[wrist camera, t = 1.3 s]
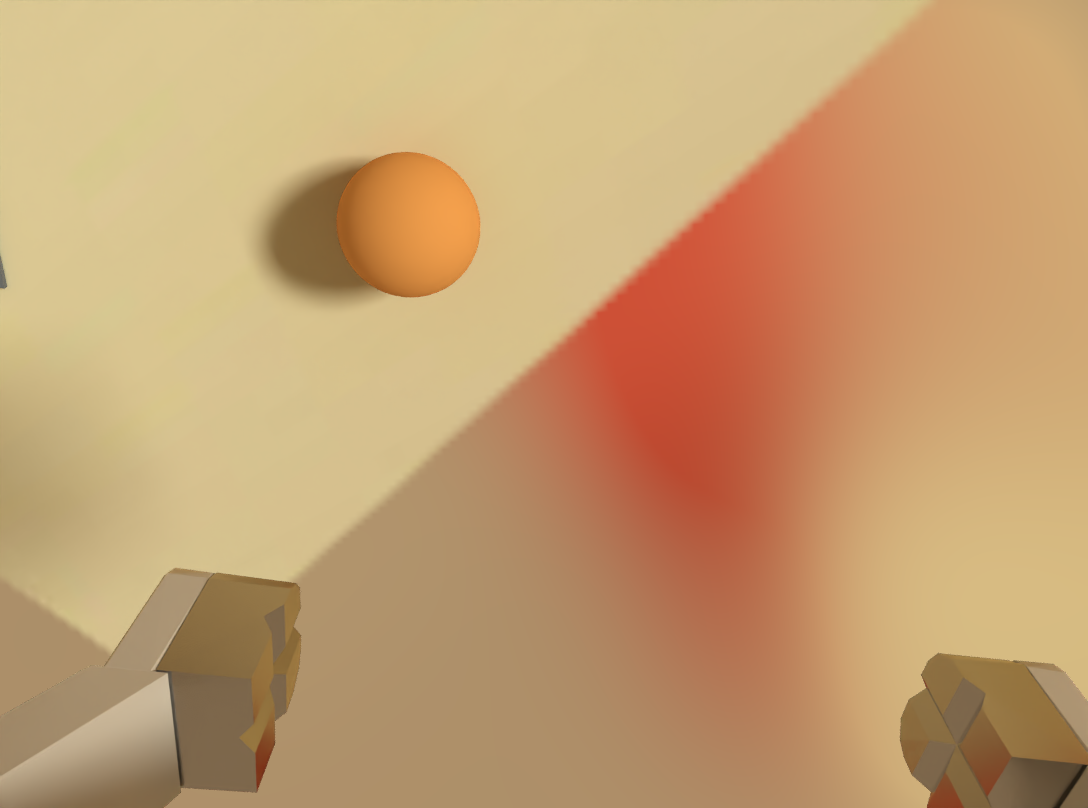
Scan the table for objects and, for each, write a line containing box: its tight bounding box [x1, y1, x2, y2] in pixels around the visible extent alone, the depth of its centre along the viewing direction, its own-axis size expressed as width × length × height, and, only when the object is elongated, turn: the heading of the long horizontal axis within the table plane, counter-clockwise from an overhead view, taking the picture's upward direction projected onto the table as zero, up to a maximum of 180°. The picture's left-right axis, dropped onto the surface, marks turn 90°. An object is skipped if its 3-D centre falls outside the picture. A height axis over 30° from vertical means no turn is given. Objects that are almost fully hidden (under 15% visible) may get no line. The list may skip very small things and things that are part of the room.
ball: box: [337, 152, 480, 297], centre depth 31 cm, size 6×6×6 cm
